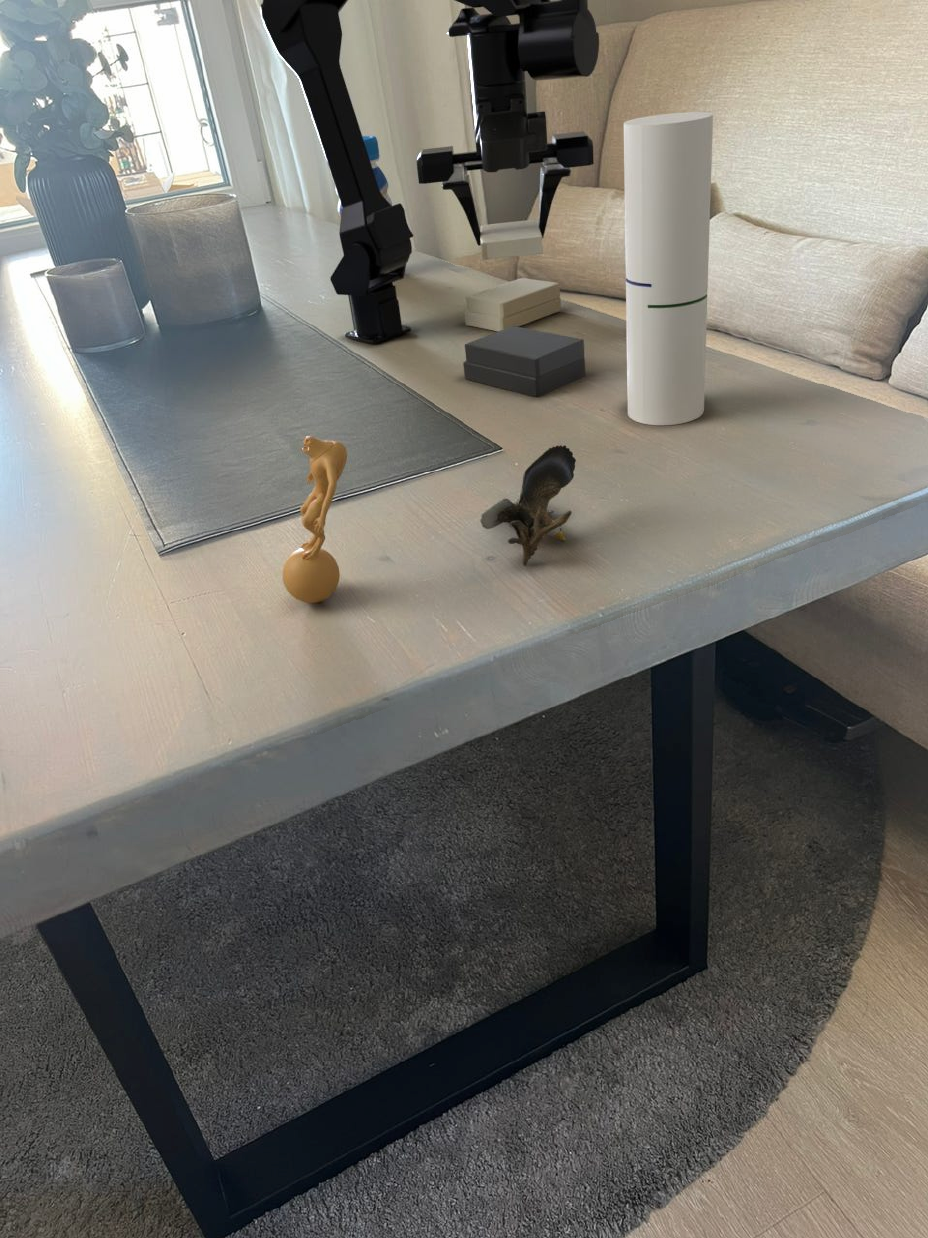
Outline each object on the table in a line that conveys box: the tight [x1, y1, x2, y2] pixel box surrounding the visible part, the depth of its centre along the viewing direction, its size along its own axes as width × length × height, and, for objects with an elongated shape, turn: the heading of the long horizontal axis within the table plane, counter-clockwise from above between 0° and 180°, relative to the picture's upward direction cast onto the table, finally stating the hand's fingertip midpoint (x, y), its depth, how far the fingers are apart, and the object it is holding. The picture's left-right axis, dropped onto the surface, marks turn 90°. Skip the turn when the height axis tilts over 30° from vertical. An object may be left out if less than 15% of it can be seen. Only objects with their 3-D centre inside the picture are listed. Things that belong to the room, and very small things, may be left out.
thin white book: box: [479, 218, 544, 261], centre depth 106 cm, size 10×7×2 cm, turn 0°
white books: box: [464, 277, 562, 332], centre depth 122 cm, size 11×7×4 cm
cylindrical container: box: [623, 111, 714, 426], centre depth 83 cm, size 7×7×25 cm
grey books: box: [462, 326, 586, 398], centre depth 101 cm, size 11×8×4 cm
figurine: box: [282, 435, 348, 604], centre depth 64 cm, size 8×6×12 cm
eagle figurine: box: [479, 444, 577, 566], centre depth 70 cm, size 8×7×9 cm
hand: (510, 241), depth 106 cm, fingers closed on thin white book, 7 cm apart
